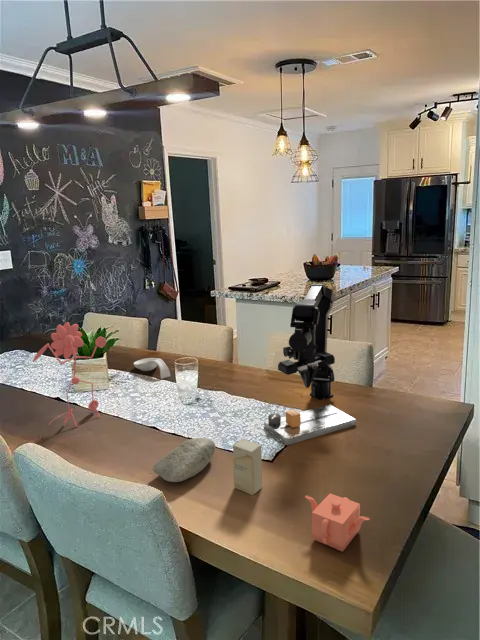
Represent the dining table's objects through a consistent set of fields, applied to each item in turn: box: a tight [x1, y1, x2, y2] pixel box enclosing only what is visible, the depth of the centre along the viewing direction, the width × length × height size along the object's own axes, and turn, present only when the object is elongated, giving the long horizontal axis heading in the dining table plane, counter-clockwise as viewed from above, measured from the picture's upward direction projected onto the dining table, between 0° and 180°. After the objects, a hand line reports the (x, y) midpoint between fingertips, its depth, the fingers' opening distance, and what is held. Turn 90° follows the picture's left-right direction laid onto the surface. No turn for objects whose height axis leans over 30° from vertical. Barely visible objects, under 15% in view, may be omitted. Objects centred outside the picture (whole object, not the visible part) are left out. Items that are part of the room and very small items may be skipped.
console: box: [263, 404, 357, 446], centre depth 155 cm, size 26×14×2 cm, turn 116°
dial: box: [267, 413, 282, 425], centre depth 154 cm, size 4×4×2 cm
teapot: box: [304, 493, 370, 552], centre depth 103 cm, size 12×15×8 cm
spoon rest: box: [133, 357, 171, 380], centre depth 215 cm, size 24×12×7 cm, turn 39°
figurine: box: [32, 321, 115, 428], centre depth 167 cm, size 15×26×35 cm, turn 141°
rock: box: [152, 437, 217, 483], centre depth 132 cm, size 8×11×20 cm
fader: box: [285, 409, 301, 428], centre depth 152 cm, size 3×4×4 cm
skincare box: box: [232, 438, 263, 496], centre depth 122 cm, size 6×4×12 cm
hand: (307, 387), depth 157 cm, fingers closed
